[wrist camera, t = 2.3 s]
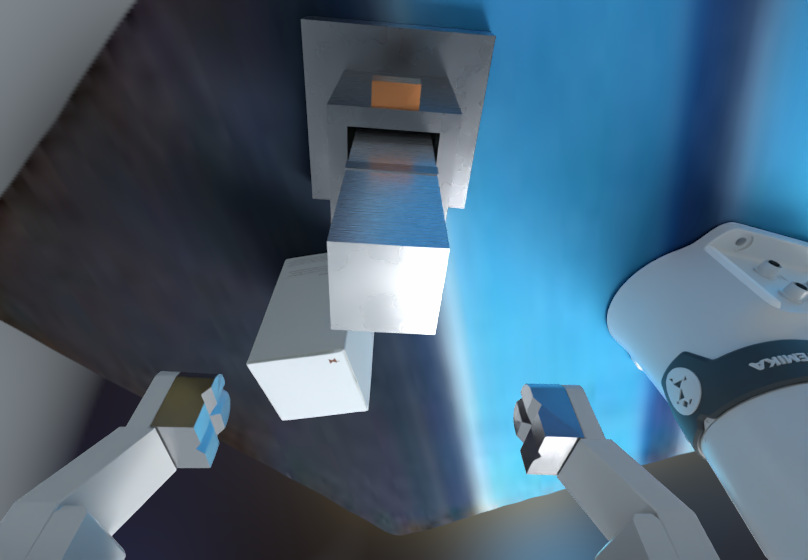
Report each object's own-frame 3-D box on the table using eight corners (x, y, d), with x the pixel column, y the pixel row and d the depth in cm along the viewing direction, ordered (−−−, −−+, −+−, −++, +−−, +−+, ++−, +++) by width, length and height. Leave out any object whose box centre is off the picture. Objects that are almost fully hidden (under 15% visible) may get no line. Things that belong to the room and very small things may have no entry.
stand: (490, 31, 27) (526, 61, 19) (461, 197, 35) (478, 267, 27) (306, 15, 27) (266, 39, 19) (316, 187, 34) (291, 256, 26)
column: (425, 99, 28) (451, 247, 13) (419, 158, 30) (435, 335, 16) (364, 94, 27) (325, 240, 13) (363, 154, 30) (329, 330, 16)
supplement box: (283, 257, 38) (241, 362, 28) (361, 245, 38) (346, 349, 28) (307, 314, 43) (279, 423, 33) (377, 305, 42) (370, 413, 32)
